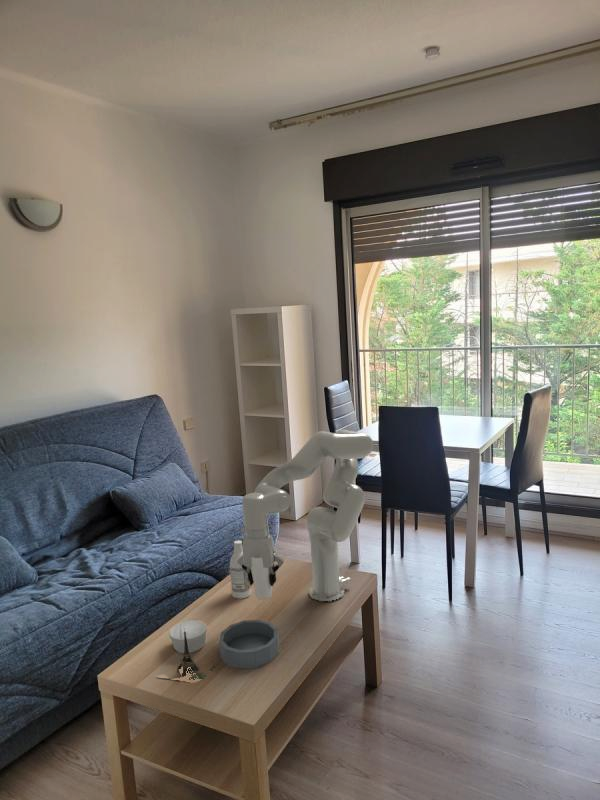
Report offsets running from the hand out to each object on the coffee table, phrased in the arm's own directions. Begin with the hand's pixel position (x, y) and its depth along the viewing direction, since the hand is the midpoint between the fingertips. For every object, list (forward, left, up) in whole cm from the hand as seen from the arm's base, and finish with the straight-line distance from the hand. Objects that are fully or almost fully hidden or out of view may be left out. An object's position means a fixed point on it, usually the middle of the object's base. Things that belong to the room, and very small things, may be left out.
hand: (262, 583), depth 189 cm
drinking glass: (0, 0, -5) cm, 5 cm away
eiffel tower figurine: (+31, +11, -14) cm, 36 cm away
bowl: (+12, +13, -13) cm, 22 cm away
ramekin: (+26, -1, -13) cm, 29 cm away
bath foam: (-1, -21, -13) cm, 25 cm away
